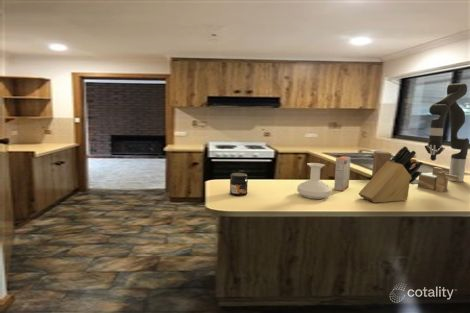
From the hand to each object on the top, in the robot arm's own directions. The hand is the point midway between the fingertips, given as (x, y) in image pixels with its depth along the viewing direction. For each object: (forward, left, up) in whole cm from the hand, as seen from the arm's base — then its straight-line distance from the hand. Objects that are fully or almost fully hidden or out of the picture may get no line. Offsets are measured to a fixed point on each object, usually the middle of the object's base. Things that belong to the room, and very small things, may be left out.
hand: (432, 160), depth 208 cm
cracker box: (+62, -17, -19) cm, 67 cm away
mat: (-7, -18, -19) cm, 28 cm away
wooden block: (+7, -35, -19) cm, 41 cm away
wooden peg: (0, +11, -10) cm, 15 cm away
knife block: (+51, +11, -19) cm, 56 cm away
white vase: (+91, -8, -20) cm, 93 cm away
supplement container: (+132, -26, -19) cm, 136 cm away
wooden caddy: (-3, +2, -19) cm, 20 cm away
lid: (-3, 0, -12) cm, 13 cm away
